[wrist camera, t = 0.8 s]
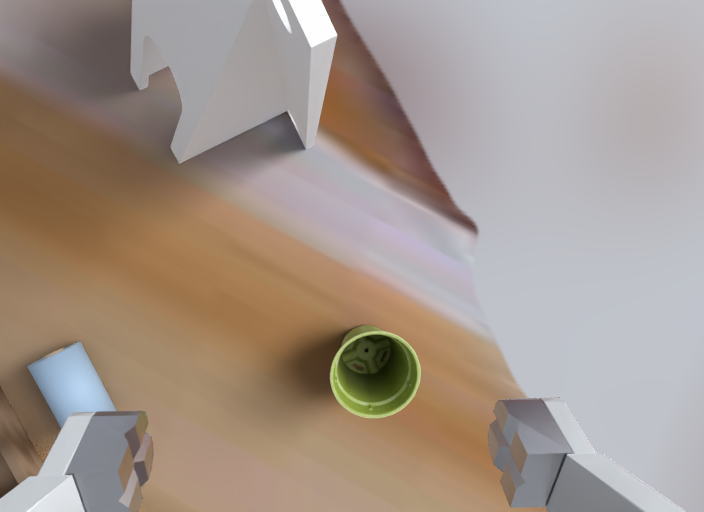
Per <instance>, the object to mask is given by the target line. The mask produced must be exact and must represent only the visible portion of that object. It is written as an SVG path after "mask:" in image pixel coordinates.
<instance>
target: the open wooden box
mask: <svg viewBox="0 0 704 512" xmlns="http://www.w3.org/2000/svg"><path fill="white" fill-rule="evenodd" d="M42 465H43V462H42V461H41V459H40V457H39V455H38V454H37V452H36V450H35V448H34V446H33V445H32V443H31V441H30V439H29V437H28V436H27V434H26V432H25V430H24V429H23V427H22V425H21V423H20V421H19V420H18V418H17V416H16V414H15V412H14V411H13V409H12V407H11V405H10V404H9V402H8V400H7V398H6V396H5V395H4V393H3V391H2V389H1V387H0V499H1V498H2V497H3V496H4V495H6V494H7V493H8V492H10V491H11V490H12V489H14V488H15V487H16V486H18V485H19V484H20V483H21V482H23V481H24V480H25V479H27V478H28V477H29V476H37V474H38V472H39V471H40V469H41V467H42Z"/></svg>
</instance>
